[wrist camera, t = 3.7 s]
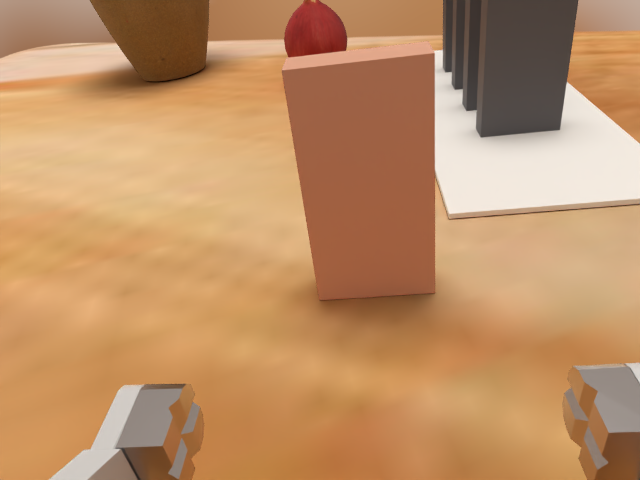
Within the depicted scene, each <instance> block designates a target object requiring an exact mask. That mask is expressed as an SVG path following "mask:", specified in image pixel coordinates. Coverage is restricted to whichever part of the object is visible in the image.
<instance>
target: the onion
mask: <svg viewBox="0 0 640 480" xmlns="http://www.w3.org/2000/svg"><path fill="white" fill-rule="evenodd" d="M284 42H285V49H286V52H287V54H288V57H289V58H290V57H298V56H307V55H315V54H324V53H332V52H341V51H346V48H347V35H346V30H345V27H344V25H343V22H342V21H341V19H340V18H339V16H338V15H337V14H336V13H335V12H334V11H333V10H332V9H331V8H329V7H328V6H327V5H325V4H323V3H321V2H320V1H319V0H304V2H303V4H302V5H301V6H300V7H299V8H298V9H297V10H296V11H295V12H294V13H293V15H292V16H291V18H290V20H289V22H288V24H287V27H286V30H285V38H284Z"/></svg>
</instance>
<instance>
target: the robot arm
mask: <svg viewBox="0 0 640 480" xmlns="http://www.w3.org/2000/svg"><path fill="white" fill-rule="evenodd" d="M567 379H568V381H569V383H570V386H571V388H570V389H569V390H567V391H566V392H565V393H564V398H563V417H564V421H565V425H566V428H567V431H568V433H569V436H570V438H571V439H572V440H573V441H574V442H575V443H577V444H578V445H579V446H580V447H581V451H580V455H579V461H580V463H581V465H582V468H583V470H584V473H585V475H586V477H587V480H640V363H628V364H621V363H620V364H602V365H585V366H572V368H571V369H570V370H569V374H568V378H567ZM194 396H195V393H194V391H193V388H192V386H191V384H145V385H124V386H123V387H122V388H121V389H120V390H119V391H118V392H117V394H116V396H115V398H114V400H113V403H112V405H111V407H110V409H109V411H108V413H107V415H106V417H105V419H104V421H103V424H102V426H101V428H100V430H99V432H98V434H97V436H96V438H95V440H94V443H93V445H92V447H91V449H90V450H83V451H82V452H81V453H80V454H78V455H77V456H76V457H75V458H74V459H73V460H71V461H70V462H69V463H68V464H67V465H65V466H64V467H63V468H62V469H61V470H60V471H58V472H57V473H56V474H55V475H54V476H53V477H51V478H50V479H49V480H192V478H193V474H194V471H195V467H194V464H193V462H192V460H191V458H192V457H193V456H194V455H195V454H196V453H197V452H198V451H199V450H200V448H201V444H202V440H203V434H204V420H203V414H202V411H201V408H200V407H199V406H198V405H196V404H195V403H193V399H194Z"/></svg>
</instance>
